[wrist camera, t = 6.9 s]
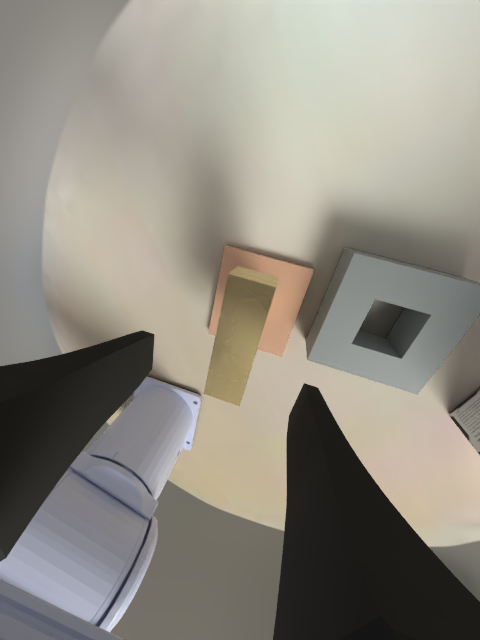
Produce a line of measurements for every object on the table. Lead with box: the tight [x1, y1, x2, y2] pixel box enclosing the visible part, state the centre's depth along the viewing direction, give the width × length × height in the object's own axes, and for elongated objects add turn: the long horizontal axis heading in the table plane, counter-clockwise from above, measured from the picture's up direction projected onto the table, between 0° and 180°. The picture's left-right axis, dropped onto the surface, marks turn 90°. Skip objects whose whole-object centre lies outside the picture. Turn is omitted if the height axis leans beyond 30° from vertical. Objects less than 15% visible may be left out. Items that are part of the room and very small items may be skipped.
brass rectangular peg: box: [204, 266, 279, 406], centre depth 16 cm, size 8×2×7 cm, turn 167°
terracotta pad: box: [208, 245, 314, 357], centre depth 19 cm, size 8×7×1 cm
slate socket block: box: [306, 247, 480, 394], centre depth 16 cm, size 8×8×3 cm
